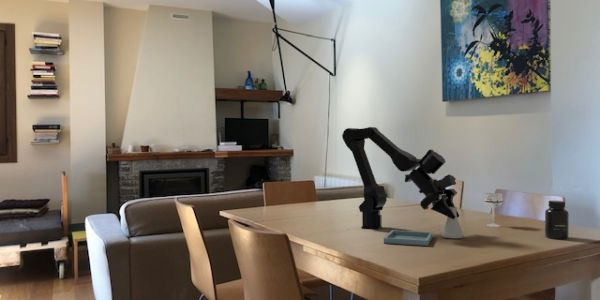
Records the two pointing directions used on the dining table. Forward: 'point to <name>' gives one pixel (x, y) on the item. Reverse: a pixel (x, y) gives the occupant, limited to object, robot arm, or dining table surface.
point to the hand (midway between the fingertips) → (456, 217)
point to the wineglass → (493, 203)
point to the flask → (452, 227)
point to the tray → (408, 238)
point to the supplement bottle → (556, 220)
